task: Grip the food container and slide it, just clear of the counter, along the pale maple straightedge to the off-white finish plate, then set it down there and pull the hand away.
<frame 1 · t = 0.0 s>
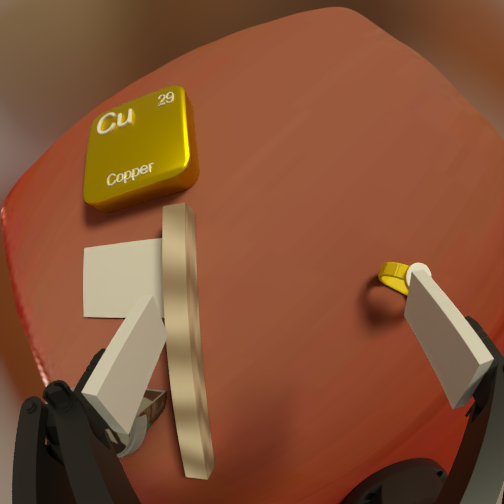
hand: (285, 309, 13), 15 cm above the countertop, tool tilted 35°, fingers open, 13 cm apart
element tile: (145, 154, 35), on the countertop
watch: (395, 284, 27), on the countertop
finish plate: (123, 280, 31), on the countertop
maple straightedge: (190, 348, 28), on the countertop
food container: (135, 408, 28), on the countertop
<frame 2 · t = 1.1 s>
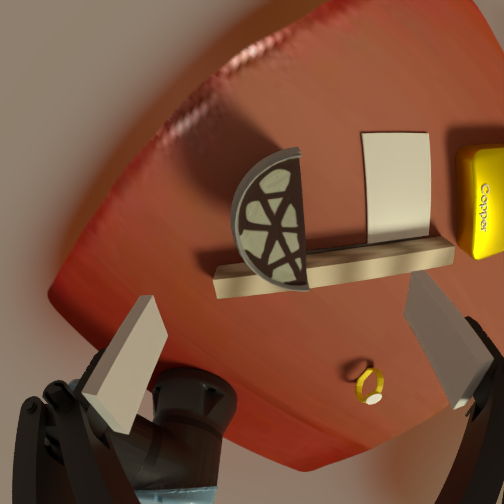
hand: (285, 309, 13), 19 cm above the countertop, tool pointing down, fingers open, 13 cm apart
element tile: (488, 193, 29), on the countertop
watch: (365, 373, 42), on the countertop
finish plate: (399, 187, 29), on the countertop
maple straightedge: (340, 259, 33), on the countertop
food container: (266, 200, 31), on the countertop
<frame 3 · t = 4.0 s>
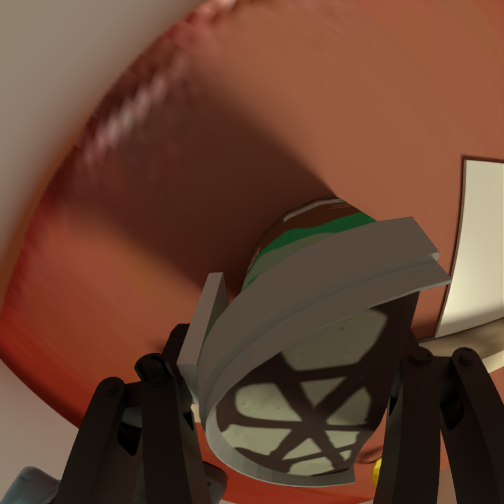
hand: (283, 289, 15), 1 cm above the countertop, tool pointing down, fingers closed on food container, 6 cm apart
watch: (385, 454, 27), on the countertop
finish plate: (495, 253, 14), on the countertop
maple straightedge: (391, 360, 18), on the countertop
food container: (282, 278, 16), on the countertop, touching gripper
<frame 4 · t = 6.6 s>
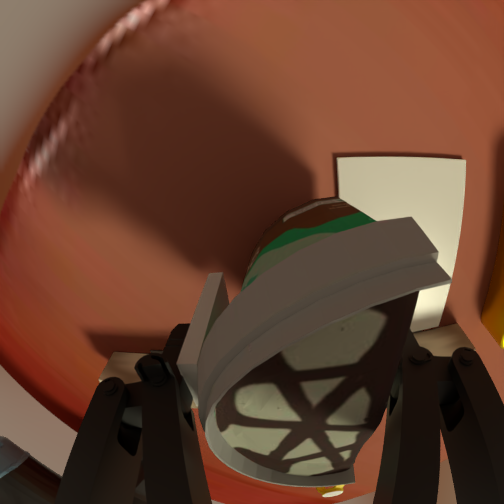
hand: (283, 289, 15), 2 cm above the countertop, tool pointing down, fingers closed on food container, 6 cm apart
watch: (328, 458, 30), on the countertop
finish plate: (403, 257, 16), on the countertop
maple straightedge: (288, 362, 20), on the countertop
food container: (281, 278, 16), point 1 cm above the countertop, touching gripper
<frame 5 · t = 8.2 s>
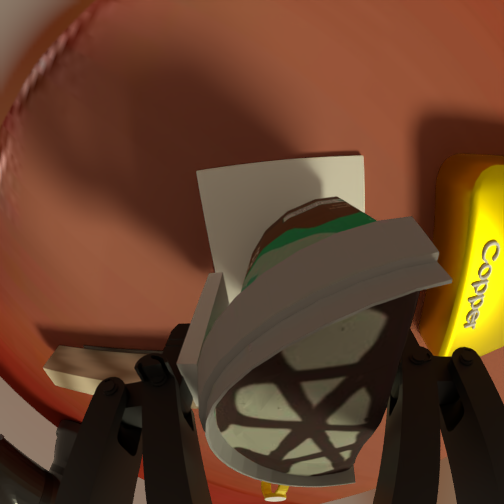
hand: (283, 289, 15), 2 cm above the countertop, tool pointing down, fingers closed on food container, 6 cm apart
element tile: (494, 246, 16), on the countertop
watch: (275, 463, 30), on the countertop
finish plate: (290, 269, 17), on the countertop
maple straightedge: (195, 365, 21), on the countertop
food container: (281, 278, 16), point 1 cm above the countertop, touching gripper
when the fingers open (2 cm above the countertop, at t = 9.5 s): food container stays where it is, resting on finish plate.
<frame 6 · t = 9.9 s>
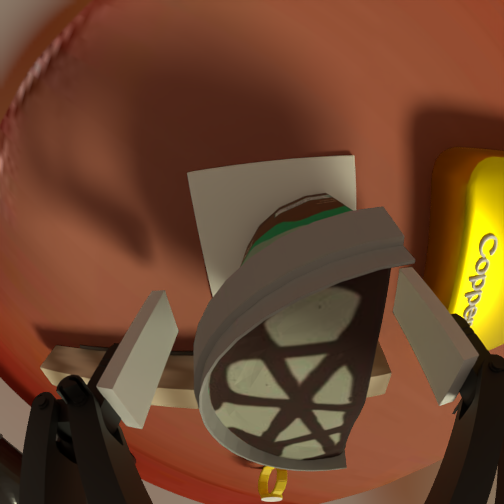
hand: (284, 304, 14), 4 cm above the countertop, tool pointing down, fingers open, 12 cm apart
element tile: (492, 243, 16), on the countertop
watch: (272, 463, 30), on the countertop
finish plate: (281, 269, 17), on the countertop
maple straightedge: (189, 365, 21), on the countertop
food container: (275, 271, 17), resting on finish plate
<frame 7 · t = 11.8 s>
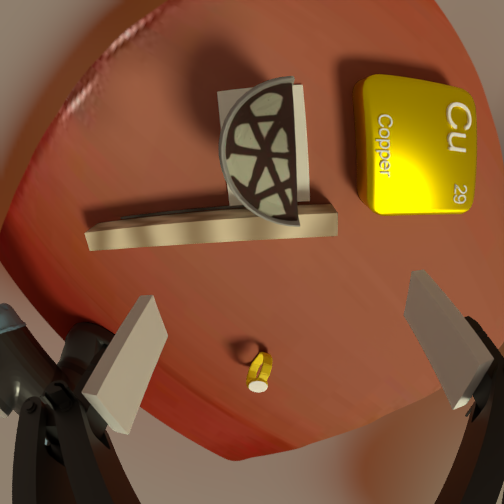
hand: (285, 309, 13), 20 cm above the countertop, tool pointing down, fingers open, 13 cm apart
element tile: (411, 144, 27), on the countertop
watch: (259, 357, 42), on the countertop
finish plate: (265, 144, 28), on the countertop
maple straightedge: (202, 221, 33), on the countertop
food container: (261, 145, 28), resting on finish plate
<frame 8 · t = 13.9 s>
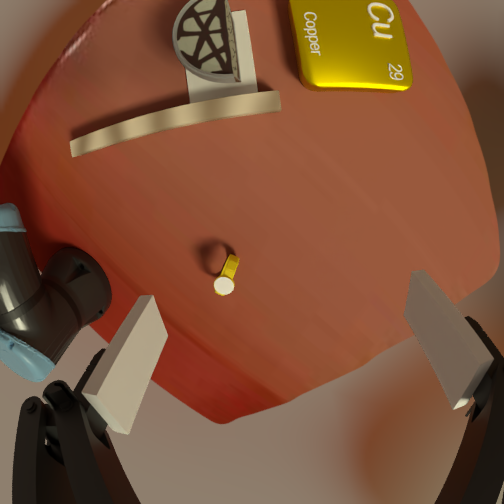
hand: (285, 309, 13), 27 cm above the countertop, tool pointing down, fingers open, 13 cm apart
element tile: (346, 43, 28), on the countertop
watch: (229, 265, 43), on the countertop
finish plate: (217, 54, 30), on the countertop
maple straightedge: (168, 120, 34), on the countertop
food container: (214, 54, 30), resting on finish plate
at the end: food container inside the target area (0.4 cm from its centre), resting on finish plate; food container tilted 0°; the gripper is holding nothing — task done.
